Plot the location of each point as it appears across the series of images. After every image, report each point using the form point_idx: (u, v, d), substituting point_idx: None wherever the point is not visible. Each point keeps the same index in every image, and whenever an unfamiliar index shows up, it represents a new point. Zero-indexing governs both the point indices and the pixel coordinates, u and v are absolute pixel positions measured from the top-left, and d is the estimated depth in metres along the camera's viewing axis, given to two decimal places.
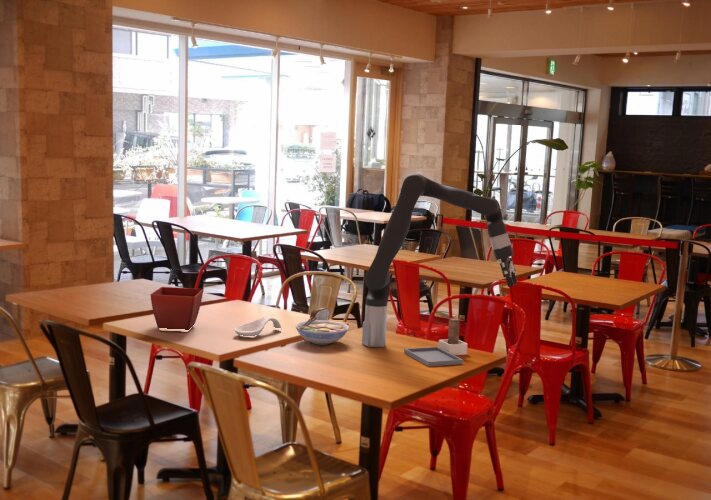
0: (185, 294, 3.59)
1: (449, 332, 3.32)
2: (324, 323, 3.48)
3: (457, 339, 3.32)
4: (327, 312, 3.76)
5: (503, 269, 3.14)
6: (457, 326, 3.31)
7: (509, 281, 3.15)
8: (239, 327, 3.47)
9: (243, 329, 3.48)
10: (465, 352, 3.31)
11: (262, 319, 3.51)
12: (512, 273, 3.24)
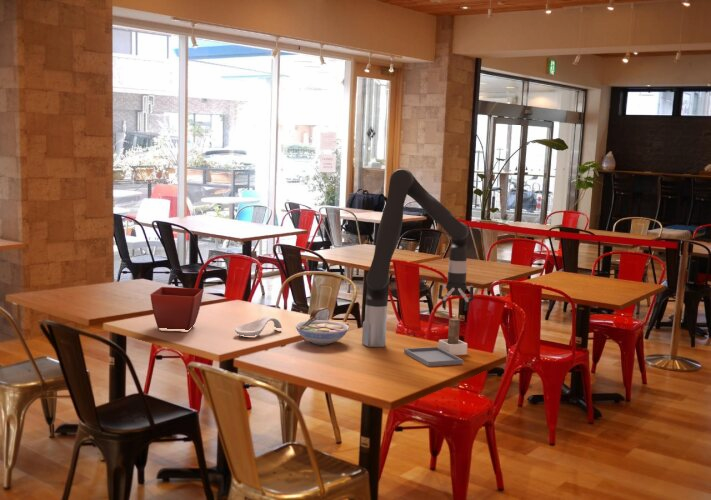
0: (185, 294, 3.59)
1: (449, 332, 3.32)
2: (324, 323, 3.48)
3: (457, 339, 3.32)
4: (327, 312, 3.76)
5: None
6: (457, 326, 3.31)
7: None
8: (240, 327, 3.47)
9: (244, 329, 3.48)
10: (465, 352, 3.31)
11: (263, 319, 3.51)
12: (465, 300, 3.30)
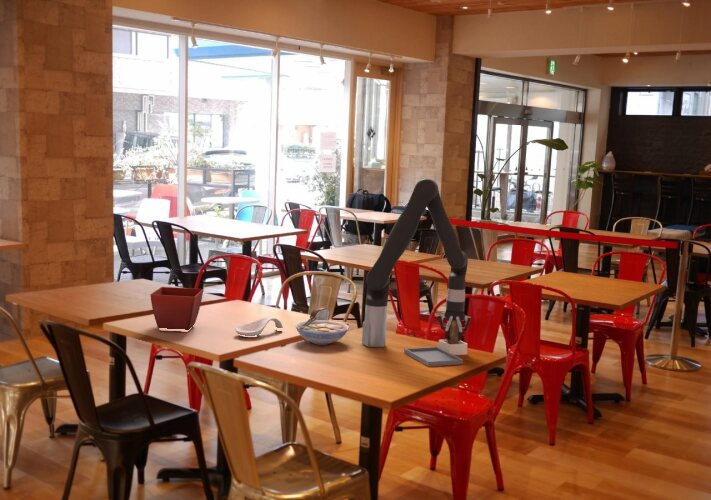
0: (185, 294, 3.59)
1: (449, 332, 3.32)
2: (324, 323, 3.48)
3: (457, 339, 3.32)
4: (328, 312, 3.76)
5: None
6: (457, 326, 3.31)
7: (445, 334, 3.33)
8: (240, 327, 3.48)
9: (244, 329, 3.49)
10: (465, 352, 3.31)
11: (263, 319, 3.52)
12: (459, 330, 3.32)
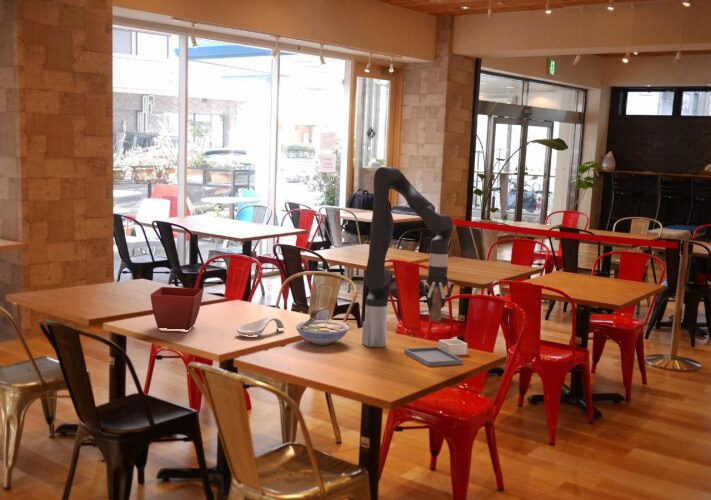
0: (185, 294, 3.59)
1: (431, 299, 3.19)
2: (324, 323, 3.48)
3: (440, 306, 3.18)
4: (327, 312, 3.76)
5: None
6: (440, 292, 3.18)
7: (427, 300, 3.20)
8: (241, 327, 3.48)
9: (245, 329, 3.49)
10: (465, 352, 3.31)
11: (265, 319, 3.52)
12: (442, 297, 3.18)
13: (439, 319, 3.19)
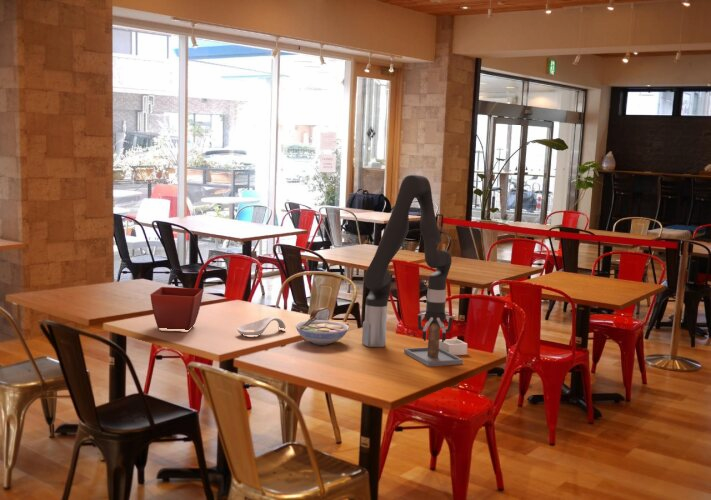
0: (185, 294, 3.59)
1: (429, 336, 3.21)
2: (324, 323, 3.48)
3: (437, 343, 3.20)
4: (328, 312, 3.76)
5: None
6: (437, 330, 3.19)
7: None
8: (242, 326, 3.49)
9: (247, 328, 3.50)
10: (465, 352, 3.31)
11: (266, 319, 3.52)
12: None
13: (437, 356, 3.21)
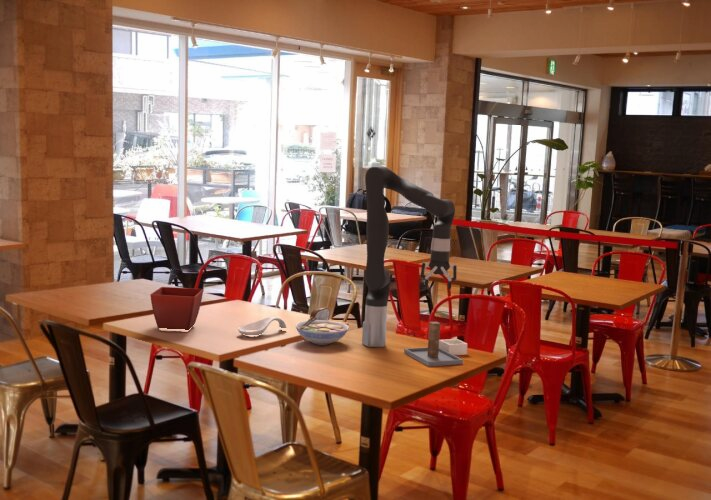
0: (185, 294, 3.59)
1: (429, 336, 3.21)
2: (324, 323, 3.48)
3: (437, 343, 3.20)
4: (327, 312, 3.76)
5: None
6: (437, 330, 3.19)
7: None
8: (243, 326, 3.49)
9: (247, 328, 3.50)
10: (465, 352, 3.31)
11: (267, 319, 3.52)
12: None
13: (437, 356, 3.21)
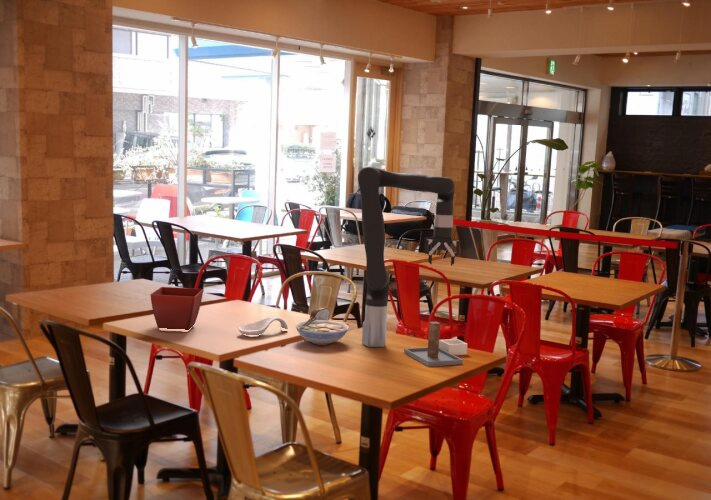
0: (185, 294, 3.59)
1: (429, 336, 3.21)
2: (324, 323, 3.48)
3: (437, 343, 3.20)
4: (327, 312, 3.76)
5: None
6: (437, 330, 3.19)
7: None
8: (244, 326, 3.50)
9: (248, 328, 3.50)
10: (465, 352, 3.31)
11: (268, 319, 3.52)
12: None
13: (437, 356, 3.21)
